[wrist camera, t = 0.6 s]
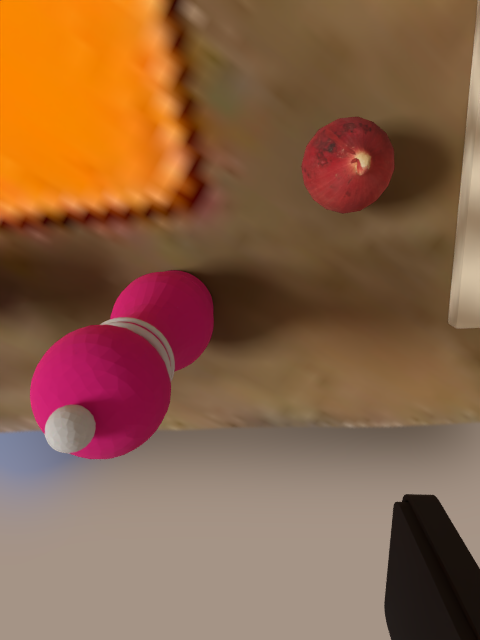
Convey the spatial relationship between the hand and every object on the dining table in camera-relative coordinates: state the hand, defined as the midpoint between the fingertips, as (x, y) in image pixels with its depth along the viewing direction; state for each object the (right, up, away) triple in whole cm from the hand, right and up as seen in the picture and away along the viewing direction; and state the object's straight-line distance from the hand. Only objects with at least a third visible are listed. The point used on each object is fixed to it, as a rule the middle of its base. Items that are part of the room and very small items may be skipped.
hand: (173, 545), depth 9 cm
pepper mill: (-4, +6, +25) cm, 26 cm away
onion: (+9, +16, +22) cm, 28 cm away
